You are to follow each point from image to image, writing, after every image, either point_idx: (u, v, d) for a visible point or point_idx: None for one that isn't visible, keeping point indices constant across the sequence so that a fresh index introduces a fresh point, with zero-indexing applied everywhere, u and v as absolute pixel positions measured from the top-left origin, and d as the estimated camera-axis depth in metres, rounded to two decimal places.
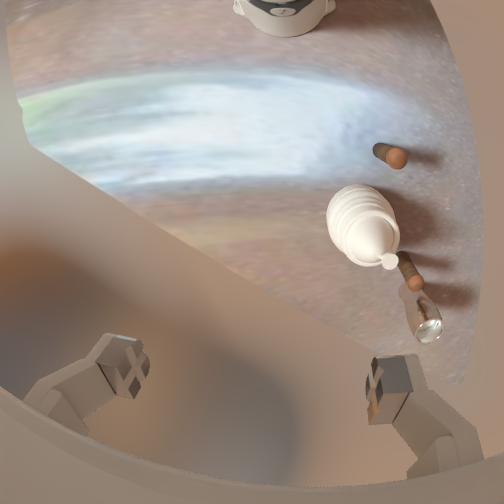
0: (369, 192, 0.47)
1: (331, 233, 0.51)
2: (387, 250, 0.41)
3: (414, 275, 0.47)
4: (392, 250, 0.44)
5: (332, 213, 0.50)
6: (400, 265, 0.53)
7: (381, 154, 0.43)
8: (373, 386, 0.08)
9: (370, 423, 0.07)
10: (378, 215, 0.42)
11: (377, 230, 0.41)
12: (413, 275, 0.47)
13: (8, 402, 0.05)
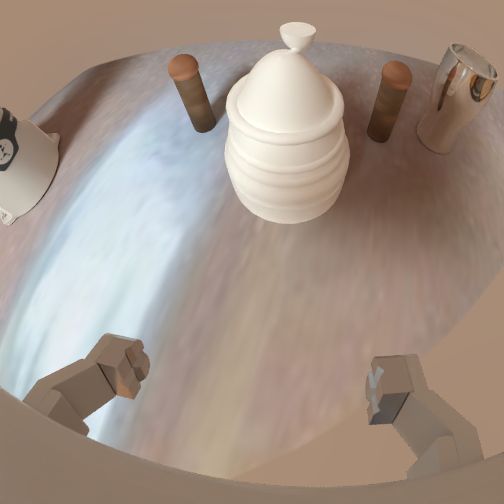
0: None
1: (278, 194, 0.26)
2: None
3: (382, 72, 0.24)
4: None
5: (242, 183, 0.27)
6: (381, 118, 0.29)
7: (186, 99, 0.30)
8: (373, 386, 0.08)
9: (370, 423, 0.07)
10: (243, 83, 0.23)
11: None
12: (382, 74, 0.24)
13: (8, 402, 0.05)
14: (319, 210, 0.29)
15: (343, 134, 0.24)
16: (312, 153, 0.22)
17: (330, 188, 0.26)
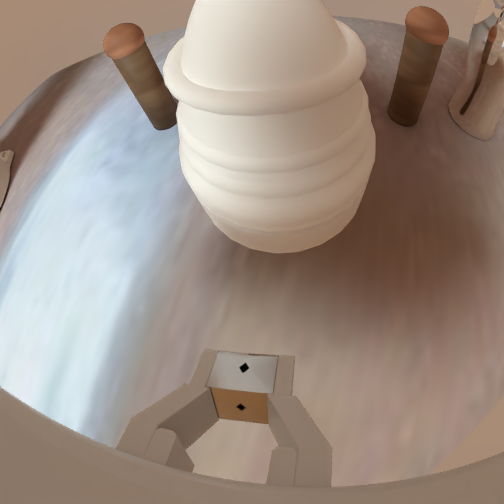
0: None
1: (264, 209, 0.15)
2: None
3: (406, 22, 0.13)
4: None
5: (204, 195, 0.16)
6: (409, 90, 0.18)
7: (132, 85, 0.20)
8: None
9: (245, 420, 0.08)
10: None
11: None
12: (408, 24, 0.13)
13: (8, 402, 0.05)
14: (333, 230, 0.18)
15: (366, 101, 0.13)
16: (318, 130, 0.11)
17: (351, 194, 0.15)
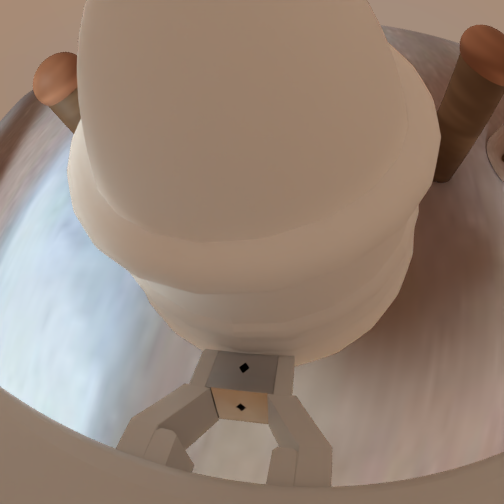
0: None
1: None
2: None
3: (463, 46, 0.08)
4: None
5: (165, 320, 0.11)
6: (453, 141, 0.13)
7: None
8: None
9: (245, 420, 0.08)
10: None
11: None
12: (466, 51, 0.08)
13: (8, 402, 0.05)
14: None
15: None
16: (340, 285, 0.06)
17: (374, 324, 0.10)
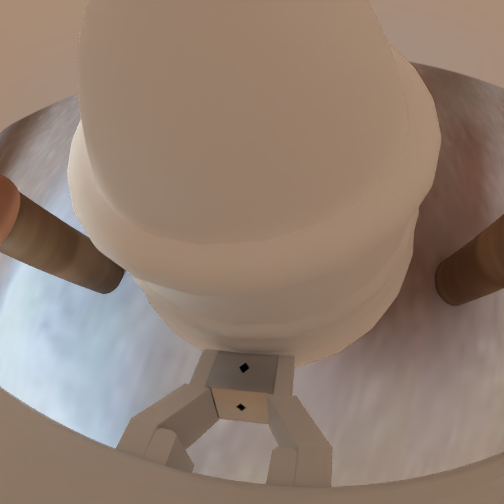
0: None
1: None
2: None
3: None
4: None
5: (165, 320, 0.11)
6: (484, 287, 0.10)
7: None
8: None
9: (245, 420, 0.08)
10: None
11: None
12: None
13: (8, 402, 0.05)
14: None
15: None
16: (340, 286, 0.06)
17: (374, 325, 0.10)
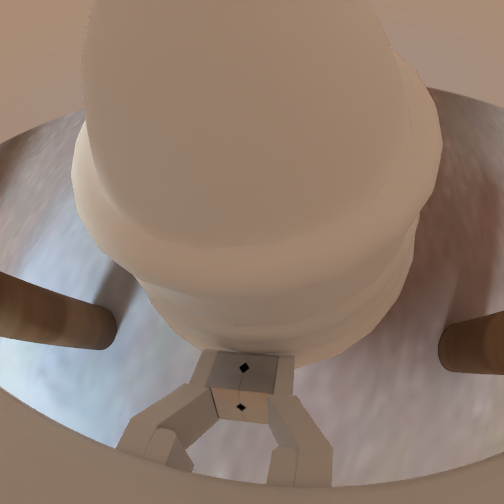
0: None
1: None
2: None
3: None
4: None
5: (167, 321, 0.11)
6: (486, 372, 0.09)
7: None
8: None
9: (245, 420, 0.08)
10: None
11: None
12: None
13: (8, 402, 0.05)
14: None
15: None
16: (341, 289, 0.06)
17: (374, 327, 0.10)
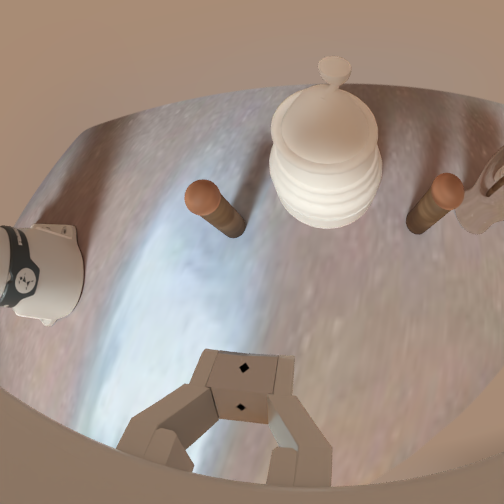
0: None
1: (326, 210, 0.29)
2: None
3: (432, 190, 0.22)
4: (350, 97, 0.24)
5: (292, 201, 0.30)
6: (423, 223, 0.27)
7: (212, 223, 0.30)
8: None
9: (245, 420, 0.08)
10: (283, 110, 0.25)
11: (294, 101, 0.22)
12: (433, 194, 0.22)
13: (8, 402, 0.05)
14: (359, 215, 0.32)
15: (377, 151, 0.26)
16: (354, 176, 0.25)
17: (369, 199, 0.28)
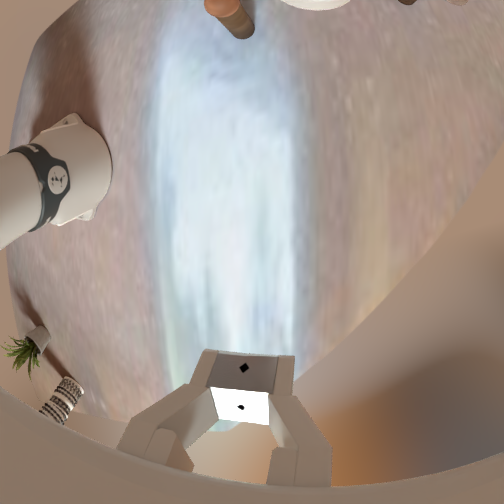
0: None
1: None
2: None
3: None
4: None
5: None
6: None
7: (232, 25, 0.24)
8: None
9: (245, 420, 0.08)
10: None
11: None
12: None
13: (8, 402, 0.05)
14: None
15: None
16: None
17: None
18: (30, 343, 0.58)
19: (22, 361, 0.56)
